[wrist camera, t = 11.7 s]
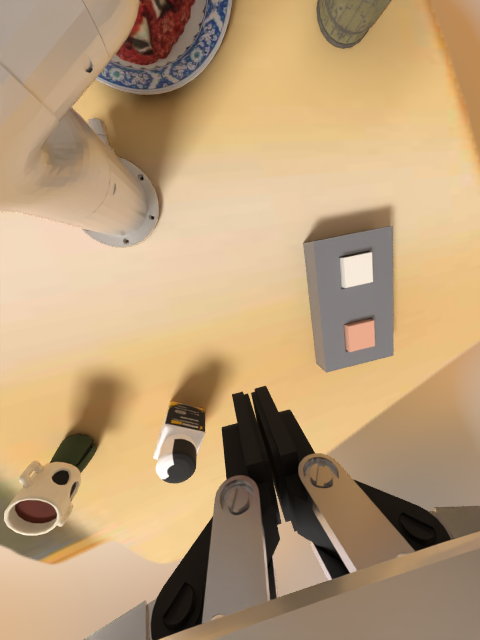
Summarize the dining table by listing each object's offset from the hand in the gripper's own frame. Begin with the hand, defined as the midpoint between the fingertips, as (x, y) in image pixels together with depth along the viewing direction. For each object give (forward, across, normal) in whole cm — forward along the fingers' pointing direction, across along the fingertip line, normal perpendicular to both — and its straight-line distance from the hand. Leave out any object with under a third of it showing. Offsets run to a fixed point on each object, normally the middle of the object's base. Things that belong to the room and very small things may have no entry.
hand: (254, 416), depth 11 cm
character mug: (+32, +32, +22) cm, 51 cm away
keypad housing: (+32, -24, +5) cm, 40 cm away
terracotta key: (+30, -24, +11) cm, 40 cm away
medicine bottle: (+32, +12, +22) cm, 41 cm away
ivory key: (+30, -24, -1) cm, 39 cm away
